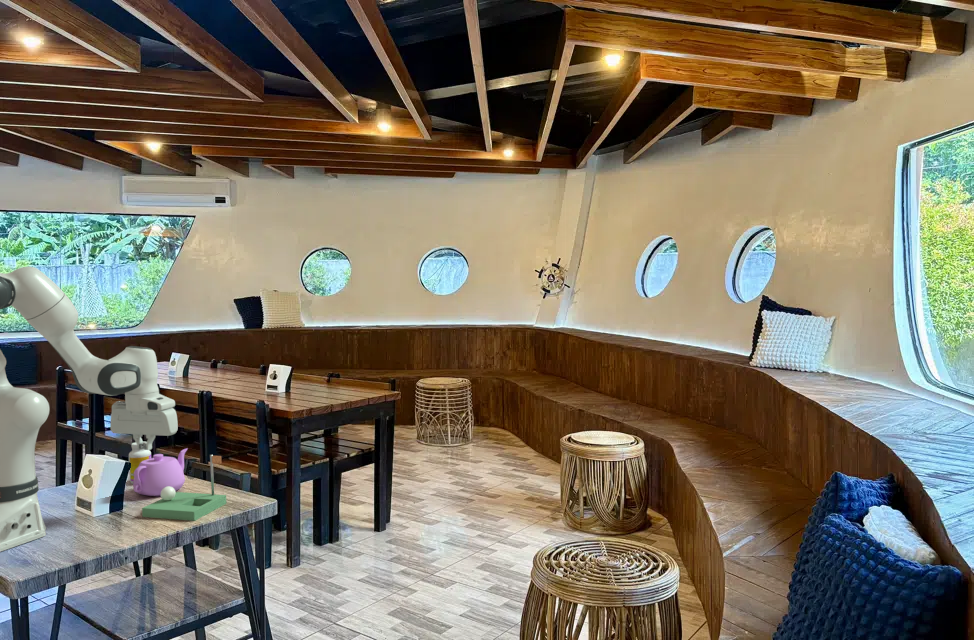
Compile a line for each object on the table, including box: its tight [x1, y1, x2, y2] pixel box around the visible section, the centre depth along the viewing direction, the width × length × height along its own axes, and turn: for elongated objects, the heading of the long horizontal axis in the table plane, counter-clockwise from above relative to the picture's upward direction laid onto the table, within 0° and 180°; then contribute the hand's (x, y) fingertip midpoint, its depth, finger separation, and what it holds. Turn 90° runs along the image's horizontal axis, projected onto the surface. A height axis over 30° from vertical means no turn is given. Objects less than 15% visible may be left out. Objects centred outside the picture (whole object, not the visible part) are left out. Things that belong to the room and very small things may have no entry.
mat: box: [141, 491, 227, 522], centre depth 210 cm, size 15×17×2 cm
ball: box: [160, 486, 177, 501], centre depth 211 cm, size 4×4×4 cm
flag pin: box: [209, 454, 222, 496], centre depth 214 cm, size 1×4×12 cm, turn 77°
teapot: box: [132, 447, 189, 497], centre depth 228 cm, size 20×13×12 cm, turn 154°
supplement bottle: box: [128, 441, 152, 485], centre depth 238 cm, size 7×7×13 cm
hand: (144, 449), depth 211 cm, fingers closed
